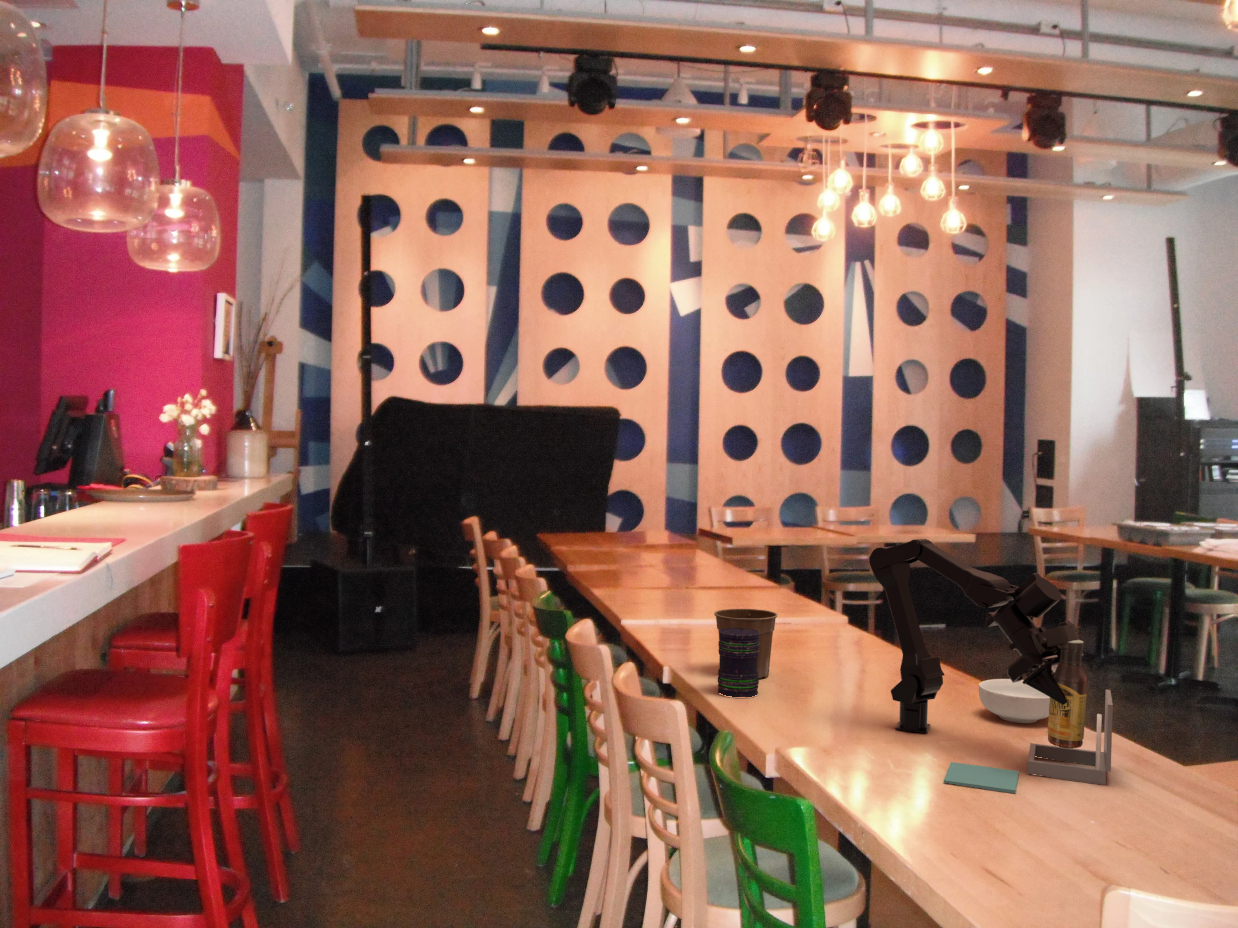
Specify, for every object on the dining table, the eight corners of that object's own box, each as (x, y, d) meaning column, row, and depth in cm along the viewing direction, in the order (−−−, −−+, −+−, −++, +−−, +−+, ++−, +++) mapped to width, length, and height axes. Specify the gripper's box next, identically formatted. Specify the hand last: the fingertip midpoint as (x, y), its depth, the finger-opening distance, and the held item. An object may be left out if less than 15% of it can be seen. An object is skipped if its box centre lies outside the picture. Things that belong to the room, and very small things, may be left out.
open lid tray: (1030, 755, 204) (1032, 681, 204) (1107, 765, 199) (1110, 689, 199) (1027, 774, 192) (1029, 696, 192) (1110, 785, 187) (1112, 705, 187)
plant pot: (706, 678, 266) (707, 615, 266) (720, 666, 282) (722, 606, 281) (769, 684, 261) (771, 620, 261) (780, 671, 276) (782, 610, 276)
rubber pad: (950, 764, 197) (950, 761, 197) (1018, 774, 193) (1018, 770, 193) (943, 783, 186) (943, 780, 186) (1015, 793, 182) (1015, 790, 182)
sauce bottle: (1039, 741, 198) (1043, 636, 198) (1065, 739, 200) (1069, 635, 200) (1065, 751, 192) (1069, 643, 191) (1092, 748, 194) (1096, 642, 194)
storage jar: (753, 700, 245) (755, 636, 245) (712, 695, 248) (714, 633, 248) (762, 690, 254) (763, 629, 254) (722, 686, 257) (724, 626, 257)
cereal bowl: (964, 717, 233) (965, 685, 233) (998, 705, 245) (999, 675, 245) (1039, 733, 221) (1040, 700, 221) (1071, 720, 233) (1072, 688, 233)
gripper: (1024, 611, 193) (1080, 683, 184) (1076, 603, 204) (1130, 670, 196) (984, 646, 199) (1036, 717, 191) (1036, 636, 211) (1087, 703, 202)
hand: (1074, 700), depth 195 cm, fingers closed on sauce bottle, 6 cm apart
